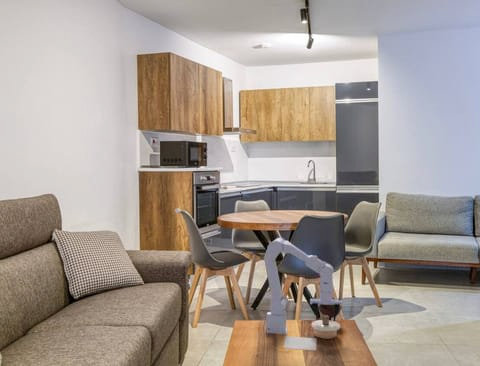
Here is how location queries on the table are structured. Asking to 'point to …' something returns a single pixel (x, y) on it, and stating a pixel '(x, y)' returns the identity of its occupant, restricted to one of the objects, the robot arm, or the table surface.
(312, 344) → the mat
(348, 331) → the table surface
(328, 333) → the bowl
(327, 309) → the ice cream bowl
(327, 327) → the lid
